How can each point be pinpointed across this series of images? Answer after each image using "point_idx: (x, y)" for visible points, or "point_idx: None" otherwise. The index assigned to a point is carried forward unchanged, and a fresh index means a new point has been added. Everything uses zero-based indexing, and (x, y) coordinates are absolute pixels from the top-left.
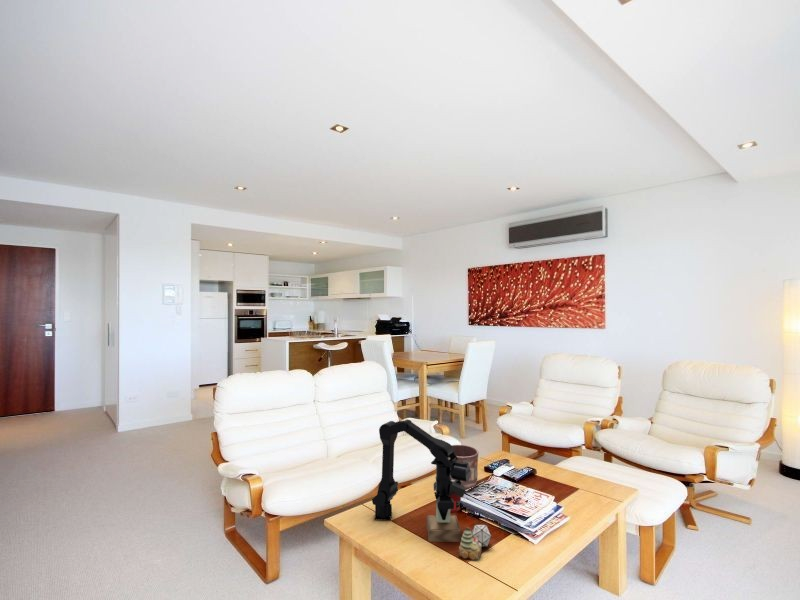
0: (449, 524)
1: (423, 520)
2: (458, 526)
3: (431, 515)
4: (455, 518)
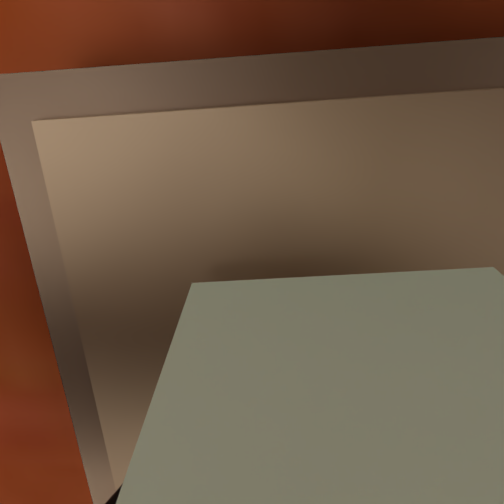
0: (424, 256)
1: (36, 469)
2: (480, 62)
3: (93, 501)
4: (123, 106)
